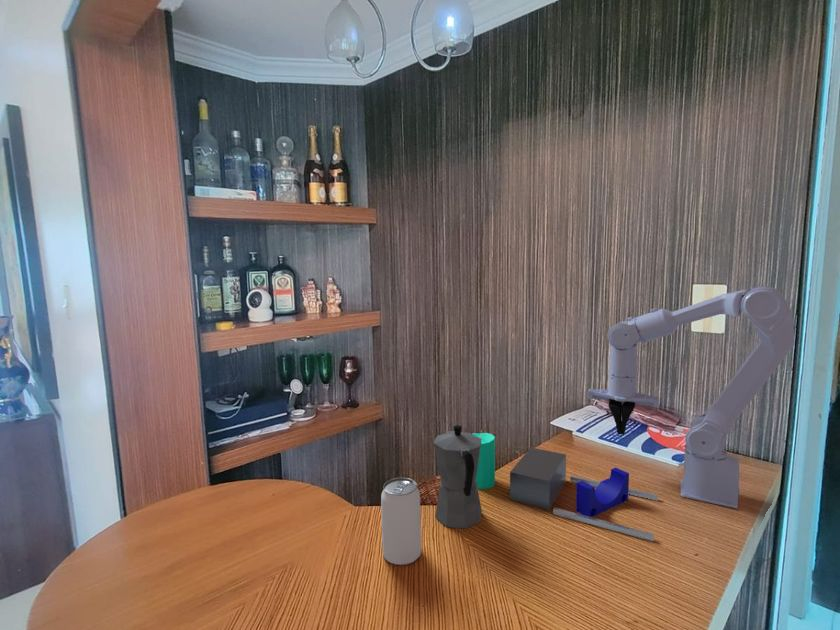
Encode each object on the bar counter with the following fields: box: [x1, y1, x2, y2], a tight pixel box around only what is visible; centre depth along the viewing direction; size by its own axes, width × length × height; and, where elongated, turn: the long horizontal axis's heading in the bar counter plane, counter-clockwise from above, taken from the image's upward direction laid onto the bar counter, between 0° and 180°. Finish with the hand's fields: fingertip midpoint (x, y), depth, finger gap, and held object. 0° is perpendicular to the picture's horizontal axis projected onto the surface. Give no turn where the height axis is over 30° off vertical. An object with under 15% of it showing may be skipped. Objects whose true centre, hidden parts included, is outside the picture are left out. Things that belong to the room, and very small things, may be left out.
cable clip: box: [575, 467, 630, 518], centre depth 85 cm, size 12×4×6 cm, turn 120°
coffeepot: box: [433, 424, 483, 530], centre depth 81 cm, size 15×9×18 cm, turn 10°
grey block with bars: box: [509, 447, 659, 543], centre depth 87 cm, size 28×16×6 cm, turn 59°
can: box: [380, 477, 422, 566], centre depth 71 cm, size 6×6×12 cm
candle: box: [472, 430, 496, 490], centre depth 95 cm, size 6×6×12 cm
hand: (621, 432), depth 98 cm, fingers closed
